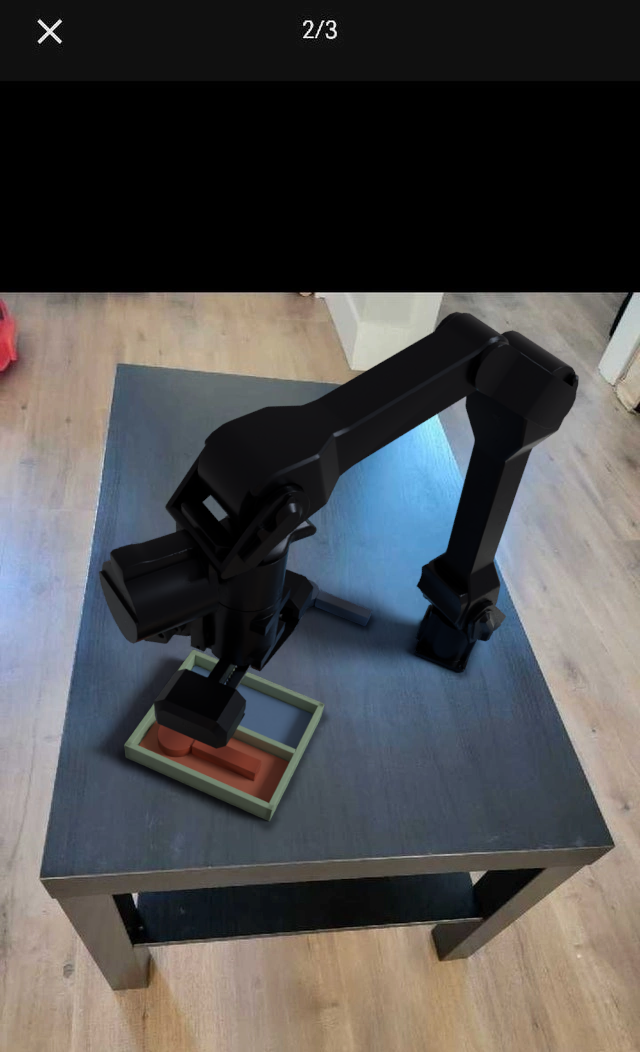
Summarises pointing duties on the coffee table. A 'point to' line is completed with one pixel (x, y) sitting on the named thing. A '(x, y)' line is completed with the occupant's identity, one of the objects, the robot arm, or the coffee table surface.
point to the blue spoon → (339, 606)
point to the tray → (240, 743)
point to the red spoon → (208, 753)
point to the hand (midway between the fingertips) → (235, 702)
